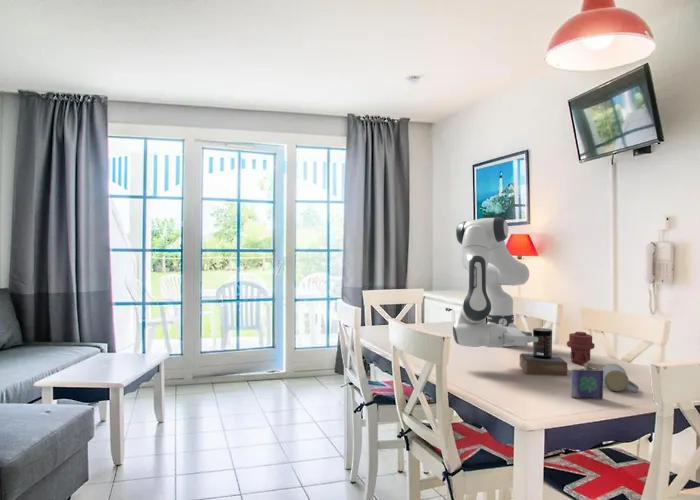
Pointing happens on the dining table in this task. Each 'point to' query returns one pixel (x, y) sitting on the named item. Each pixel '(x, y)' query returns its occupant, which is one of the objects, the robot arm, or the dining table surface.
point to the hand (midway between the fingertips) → (534, 336)
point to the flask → (587, 383)
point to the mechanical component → (580, 347)
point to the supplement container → (542, 343)
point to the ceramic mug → (617, 378)
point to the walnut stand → (543, 365)
